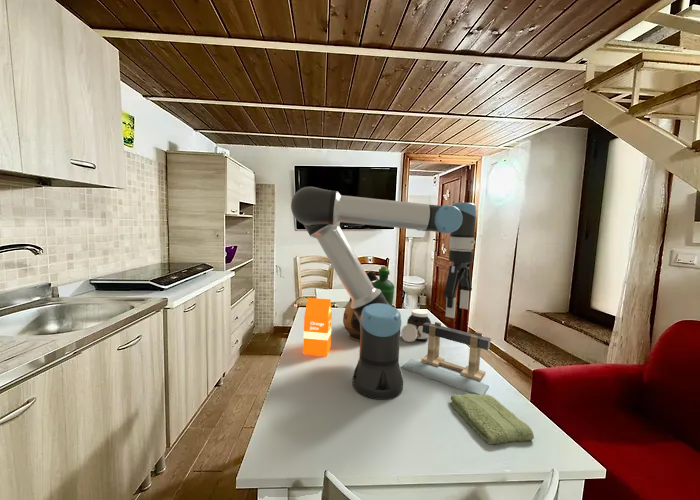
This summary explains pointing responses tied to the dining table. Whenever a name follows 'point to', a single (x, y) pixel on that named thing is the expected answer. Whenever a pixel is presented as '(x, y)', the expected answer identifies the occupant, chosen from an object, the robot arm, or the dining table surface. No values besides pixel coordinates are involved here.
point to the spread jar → (415, 326)
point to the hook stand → (435, 360)
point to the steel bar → (457, 335)
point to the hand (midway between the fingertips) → (457, 312)
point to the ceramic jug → (354, 316)
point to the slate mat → (446, 377)
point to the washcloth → (491, 418)
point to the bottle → (385, 284)
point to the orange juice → (317, 327)
